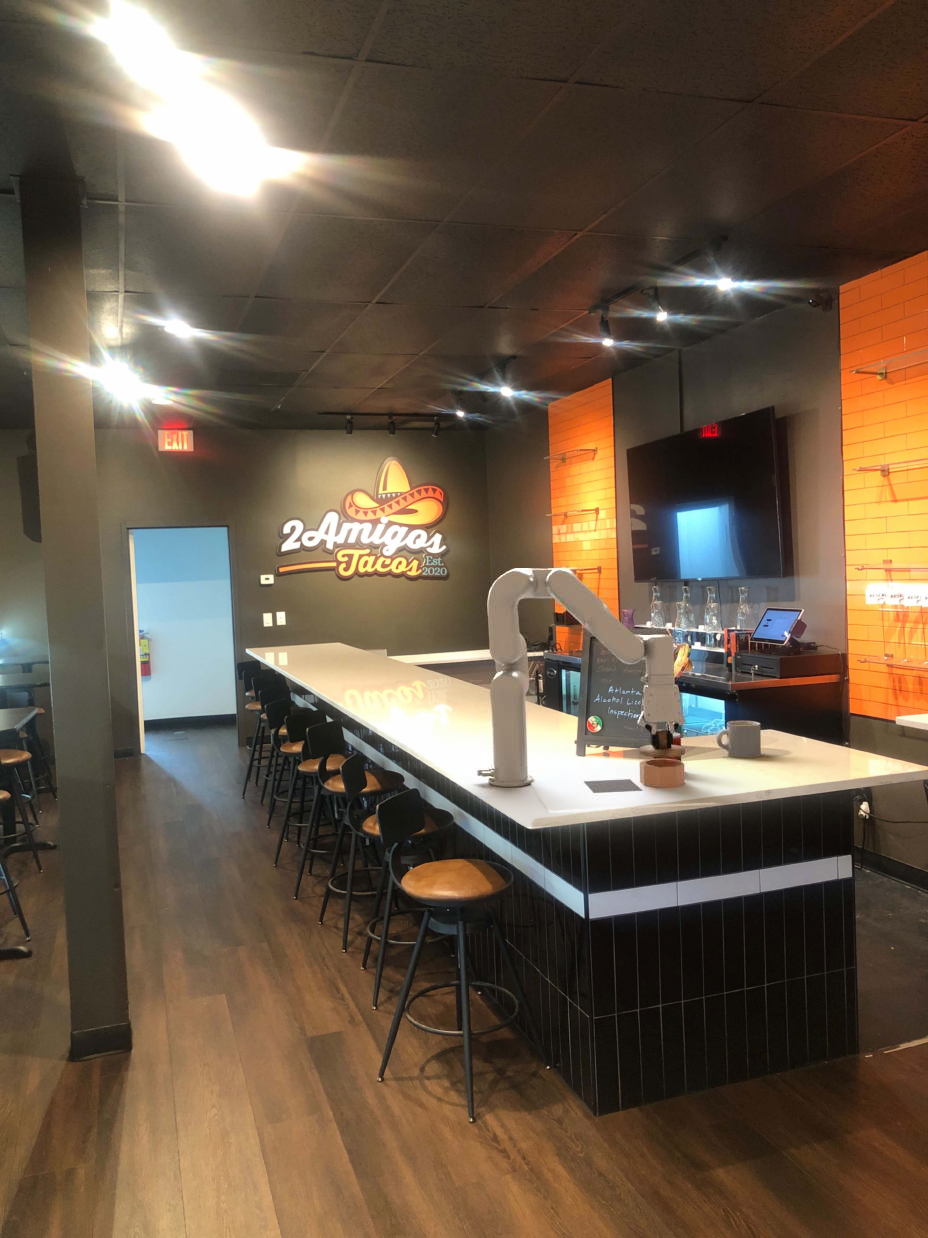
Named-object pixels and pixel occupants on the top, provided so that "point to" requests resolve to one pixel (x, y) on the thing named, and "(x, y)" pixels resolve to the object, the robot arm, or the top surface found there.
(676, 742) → the canned food
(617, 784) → the mat
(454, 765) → the top surface
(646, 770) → the bowl
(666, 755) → the lid
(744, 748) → the coffee mug
